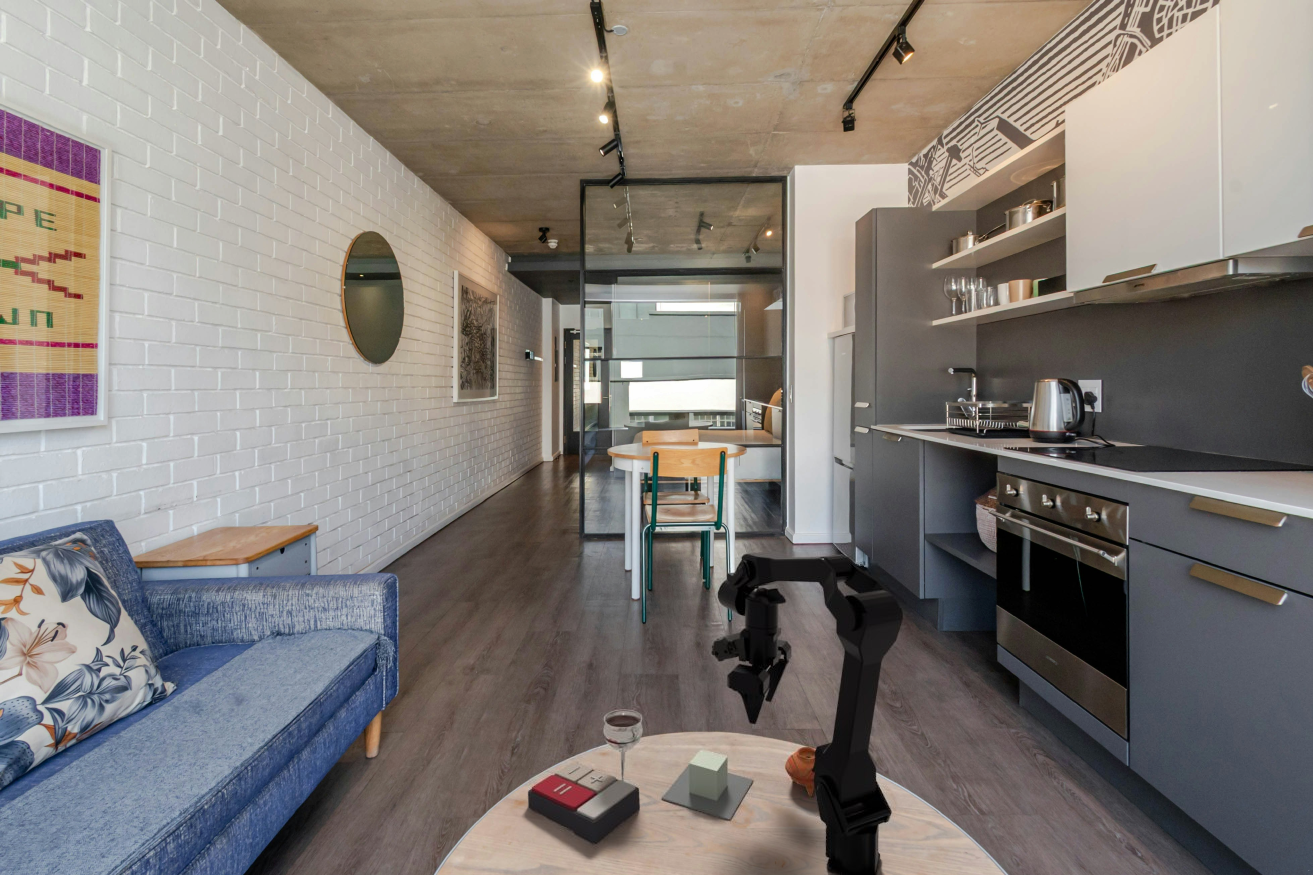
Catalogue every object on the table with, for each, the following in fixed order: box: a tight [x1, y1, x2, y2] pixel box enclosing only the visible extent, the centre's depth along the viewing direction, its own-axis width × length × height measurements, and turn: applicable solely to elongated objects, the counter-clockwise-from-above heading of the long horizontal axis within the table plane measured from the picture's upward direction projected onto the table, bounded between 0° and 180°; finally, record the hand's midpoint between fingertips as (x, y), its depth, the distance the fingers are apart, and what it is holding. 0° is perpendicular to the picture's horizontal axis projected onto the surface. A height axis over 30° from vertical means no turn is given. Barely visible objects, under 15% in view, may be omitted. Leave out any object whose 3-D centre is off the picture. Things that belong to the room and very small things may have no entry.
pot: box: [784, 746, 816, 797], centre depth 106 cm, size 8×8×7 cm
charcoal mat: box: [661, 764, 754, 821], centre depth 105 cm, size 12×12×1 cm
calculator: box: [527, 760, 641, 846], centre depth 100 cm, size 11×4×15 cm
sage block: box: [688, 749, 729, 801], centre depth 104 cm, size 5×5×5 cm
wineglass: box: [602, 709, 644, 787], centre depth 105 cm, size 7×7×12 cm
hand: (760, 711), depth 107 cm, fingers open, 9 cm apart
